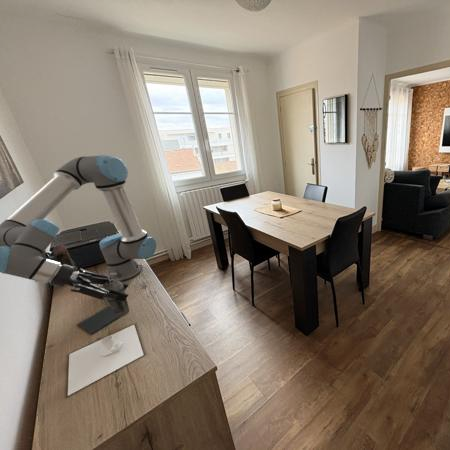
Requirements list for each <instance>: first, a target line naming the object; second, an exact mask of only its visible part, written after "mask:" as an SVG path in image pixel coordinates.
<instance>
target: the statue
mask: <svg viewBox="0 0 450 450" xmlns="http://www.w3.org/2000/svg"><path fill="white" fill-rule="evenodd" d="M52 252H53V256H54V258H55V261H57V262H60V263H61V264H60V265H63V264H66V265H70V266H73V267H75V270H74V271H76V272H78V271H79V270H78V267H77V265H76V262H75V261H74V260H73V259H72V257H71V255H70V252H69V251H68V249H67V246H66V245H64V244H63V245H58V246H55V247H54V248H53V250H52Z"/></svg>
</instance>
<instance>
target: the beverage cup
mask: <svg viewBox="0 0 450 450" xmlns="http://www.w3.org/2000/svg"><path fill="white" fill-rule="evenodd" d="M104 272H105V275H106V276H107V277H108V280H109V281H108V282H106V283H105V284H104V285H102V286H101V287H102V288H104V289H106V290H108V291H109V290H114V291H117V292H121V293H125V294H126V290H125V289H124V285H123V284H124V283H123V282H122V281H118V280H110V278H109V275H108V269H107V270H106V269H105V271H104ZM122 283H123V284H122ZM127 299H128V298H126V300H125V301H121V300H117V299H113V298H109V297H105V298H104V300H106V302H107V303H108V305H109V306H110V307H111V308H112V310H113V312H114V313H115V314H116V316H117V317H119V318H121V317H125V316H126V315H128V314H129V313H130V307H129V302H128V300H127Z"/></svg>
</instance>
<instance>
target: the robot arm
mask: <svg viewBox="0 0 450 450" xmlns="http://www.w3.org/2000/svg"><path fill="white" fill-rule="evenodd" d="M128 174H129V172H128V168H127V166H126V164H125V162H123V160H122V159H120V158H118V157H117V156H115V155H106V154H102V155H89V156H78V157H75V158H73V159H71V160H69V161H68V162H67V163H65V164H63V165H62V166H60V167H59V168H58V169H57V170H56V171H55V172H54V173H52V178H51V179H50V180H49V181H47V183H46V184H44V185H43V186H42V187H41V188H40V189H39V190H37V191H36V192H35V193H34V194H33V195H32V196H31V197H29V198H28V199H27V200H26V201H25V202H24V203H23V204H22V205H20V206H19V207H18V208H17V209H16V210H15V211H14V212H13V213H11V215H9V216H8V217H7V218H5V220H4V221H2V222H1V223H0V273H1V274H4V275H5V274H6V275H9V276H14V277H18V278H23V279H26V280H31V281H34V282H35V283H38V282H39V283H42V284H48V283H49V285H50V286H54V287H59V288H63V287H64V286H65V285H66V286H69V287H72V288H71V289H70V292H72V293H79V294H82V295H85V296H89V297H92V298H95V299H98V300H105V297H109V298H113V299H117V300H121V301H125V300H126V299H128V297H129V294H127V293H126V292H125V293H121V292H117V291H114V290H109V291H108V290H106V289H104V288H102V287H103V285H104V284H105V283H106V282H108V281H109V280H108V277H107V275H106V274H101V273H98V272H93V271H89V270H86V269H83V268H80V269H79V270H77V271H78V272H76V271H74V270H75V267H73V266H70V265H66V264H63V265H60V264H61V263H60V262H57V261H56V260H54V259H49V258H46V257H43V256H42V255H43V254H44V253H45V251H46V250H47V249H48V247H49V246H50V245H51V243H53V241H54V240H55V239H56V238H57V237H56V236H57V235H58V233H59V232H60V227H59V226H58V225H57V224H56V223H54V222H52V221H50V220H47V219H45V218H47V217H48V215H50V214H51V212H53V210H55V208H57V207H58V206H59V205H60V204H61V202H63V200H65V198H67V197H68V196H69V195H70V194H71V193H72V191H74V190H76V191H77V190H79V189H80V188H81V187H82V186H83V185H86V184H91V183H92V184H93V185H94V187H95V188H96V190H99V191H101V192H102V194H103V196H104V198H105V201H106V203H107V204H108V207H109V209H110V212H111V213H112V215H113V218H114V220H115V222H116V225H117V226H118V228H119V230H120V233H116V234H112V235H110V236H107V237H105V238H103V239H101V240H100V241H99V243H98V245H99V249H100V252H101V254H102V257H103V258H104V261H105V263H106V265H107V273H108V275H109V278H110V280H118V281H120V282H121V283H122V284H123V285H124V289H125V291H126V290H127V288H129V284H126V283H123V282H124V281H126V280H130V279H132V278H134V277H136V276H137V275H139V273H140V272H141V271H142V268H141V267H142V266H143V265H142V264H139V263H138V262H137V261H136V260H146V259H149V258H152V256H154V254H155V252H156V250H157V241H156V239H155V238H154V237H153V236H149V235H148V233H147V231H146V230H144V229H142V227H141V225H140V222H139V220H138V217H137V215H136V212H135V210H134V207H133V205H132V203H131V201H130V198H129V196H128V193H127V191H126V188H125V186H126V184H127V181H126V180H127V178H128V176H129V175H128ZM99 285H102V286H99Z"/></svg>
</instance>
